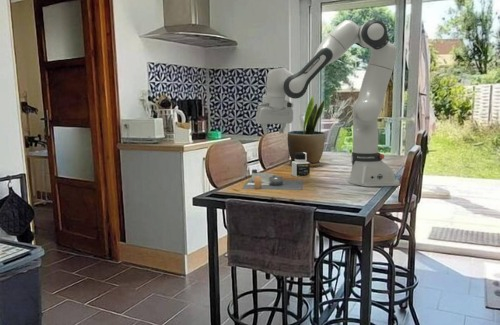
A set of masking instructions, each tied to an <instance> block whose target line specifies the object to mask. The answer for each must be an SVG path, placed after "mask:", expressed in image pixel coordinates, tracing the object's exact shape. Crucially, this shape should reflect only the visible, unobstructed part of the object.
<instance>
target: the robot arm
mask: <svg viewBox="0 0 500 325" xmlns="http://www.w3.org/2000/svg"><path fill="white" fill-rule="evenodd" d="M389 40H390V39H389V33H388V29H387V26H386V24H385V23H384V22H383V21H382V20H380V19H371V20H368V21H367V22H365V23H364V24H361V25H358V24H356V22H355V21H353V20H350V19H345V20H343V21H341V22H340V23H339V24H338V25H336V26H335V27H334V28H333V29H332V30H331V31H330V32H329V33H328V34H327V35H326V36H325V37H324V38H323V39H322V41H321V42H320V44H319V45H318V47H317V49H316V51H315V54H314V56H313V57H312V58H311V59H310V60H309V61H308V62H307V63H306V65H304V66H303V67H302V69H300V70H299V71H298V72H296V73H293V72H291V71H289V70H288V69H286V68H285V67H282V66H281V67H274V68H272V69H269V70H268V73H267V75H266V86H265V87H266V93H265V94H266V95H265V103H259V104H258V105H257V107H256V114H255V123H256V124H257V125H261V127H262V129H263V134H264V135H269V129H267V127H268V125H274V124H276V125H279V124H280V126H281V127H280V129H279V130H278V133H279V134H284V133H285V128H286V127H287V124H292V123H293V121H294V120H293V119H294V110H293V107H294V104H293V103H292V102H291V101H288V100H287V99H286V96H287V97H289V98H291V99H300V98H301V97H303V96H304V95H305V94H306V92H307V90H308V87H309V85H310V83H311V82H312V81H313V80H314V78H315V77H316V76H317V75H318V74H319V73H320V72H321V71H322V70H323V69H324V68H325V67H326V66H327V67H328V66H329V65H331V64H333V63H334V62H335V61H337V60H338V59H340V58H341V57H342V56H343V55H344V54H345V53H346V52H348V50H349V49H350V48H351V47H352V46H353V45H357V46H359V47H360V48H363V49H366V50H367V49H369V51H370V57H369V60H368V63H367V65H366V66H367V67H366V70H365V73H364V76H363V79H362V83H361V86H360V89H359V93H358V96H357V97H358V98H357V100H356V101H355V103H354V105H353V107H352V133H353V134H352V136H353V137H352V151H351V171H350V176H349V180H348V183H350V184H353V185H357V186H358V185H359V186H362V187H392V186H393V187H394V186H395V187H398V186H400V185H401V182H400V180H399V179H397V178H395V177H396V176H395V171H394V170H393V168H392V167H390V166H389V165H388V164H387V163H385V162H384V161H383V159H385V155H384V154H383V153H380V152H378V151H379V125H378V124H379V123H378V122H379V120H378V119H379V117H380V114H381V112H382V108H383V105H384V101H385V97H386V93H387V89H388V86H389V83H390V81H391V77H392V73H393V70H394V68H395V64H396V59H397V55H398V54H397V52H398V49H397V47H396V45H395V44H393V43H392V42H390V41H389Z"/></svg>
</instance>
